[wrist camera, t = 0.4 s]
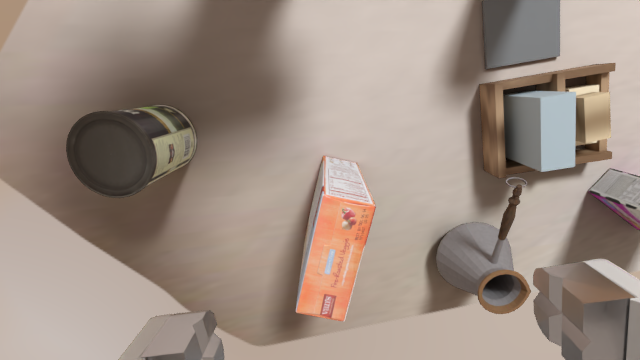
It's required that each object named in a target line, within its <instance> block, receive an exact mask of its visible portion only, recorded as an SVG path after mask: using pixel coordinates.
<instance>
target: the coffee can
mask: <svg viewBox="0 0 640 360" xmlns="http://www.w3.org/2000/svg"><path fill="white" fill-rule="evenodd" d="M196 145H197V138H196V133H195V130H194V127H193V125H192V123H191V122H190V120H189V119H188V118H187V117H186V116H185V115H184V114H183V113H182V112H181V111H179V110H177V109H176V108H173V107H170V106H166V105H154V106H150V107H142V108H134V109H126V110H117V111H99V112H93V113H90V114H88V115H85V116H84V117H82V118H80V119H79V120H78V121H77V122H76V123H75V124H74V125H73V127H72V129H71V130H70V132H69V135H68V138H67V145H66V151H67V157H68V161H69V164H70V166H71V168H72V170H73V172H74V174H75V175H76V176H77V178H78V179H79V180H80V181H81V182H82V183H83V184H84V185H85V186H86V187H88V188H89V189H90V190H92V191H94V192H96V193H98V194H100V195H103V196H106V197H111V198H123V197H128V196H131V195H134V194H136V193H138V192H139V191H141V190H142V189H143V188H145V187H146V186H148V185H149V184H151V183H153V182H155V181H157V180H158V179H160V178H162V177H164V176H166V175H167V174H169V173H171V172H173V171H174V170H176V169H179V168H181V167H183V166H185V165H186V164H187V163H188V162H189V161H190V160H191V159H192V157H193V155H194V153H195V150H196Z"/></svg>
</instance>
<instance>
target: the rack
mask: <svg viewBox="0 0 640 360" xmlns="http://www.w3.org/2000/svg"><path fill="white" fill-rule="evenodd" d="M611 71H615V63H609V64H596V65H589V66H583V67H577V68H571V69H566V70H560V71H554V72H548V73H542V74H537V75H531V76H525V77H519V78H514V79H508V80H502V81H496V82H490V83H485V84H479V88H480V107H481V125H482V143H483V161H484V170H485V171H486V172H488V173H490V174H492V175H494V176H496V177H497V178H505V177H506V175H510V174H516V173H523V172H529V171H535V169H533V168H530V167H528V166H526V165H523V164H521V163H518V162H516V161H513V160H506V158H505V133H504V107H503V90H506V89H511V88H517V87H523V86H529V85H535V84H536V91H560V92H565V79H570V78H576V77H582V76H586V85H599V92H609V72H611ZM607 159H612V152H611V151H607V139H603V140H598V141H597V143H591V144H585V148H582V149H576V150H575V164H581V163H587V162H594V161H600V160H607Z"/></svg>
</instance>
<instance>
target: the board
mask: <svg viewBox="0 0 640 360" xmlns="http://www.w3.org/2000/svg"><path fill="white" fill-rule="evenodd" d="M503 107H504V133H505V157H506V158H508V159H511V160H513V161H516V162H518V163H521V164H523V165H526V166H528V167H530V168H533V169H535V170H538V171H540V172H544V171H551V170H557V169H564V168H570V167H575V137H576V92H560V91H520V92H514V93H508V94H503Z"/></svg>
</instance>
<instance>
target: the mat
mask: <svg viewBox="0 0 640 360" xmlns="http://www.w3.org/2000/svg"><path fill="white" fill-rule="evenodd" d="M482 8H483V28H484V48H485V68H486V69H489V68H495V67H500V66H506V65H512V64H518V63H523V62H529V61H535V60H540V59H546V58H552V57H558V56H560V0H484V1H482Z"/></svg>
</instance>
